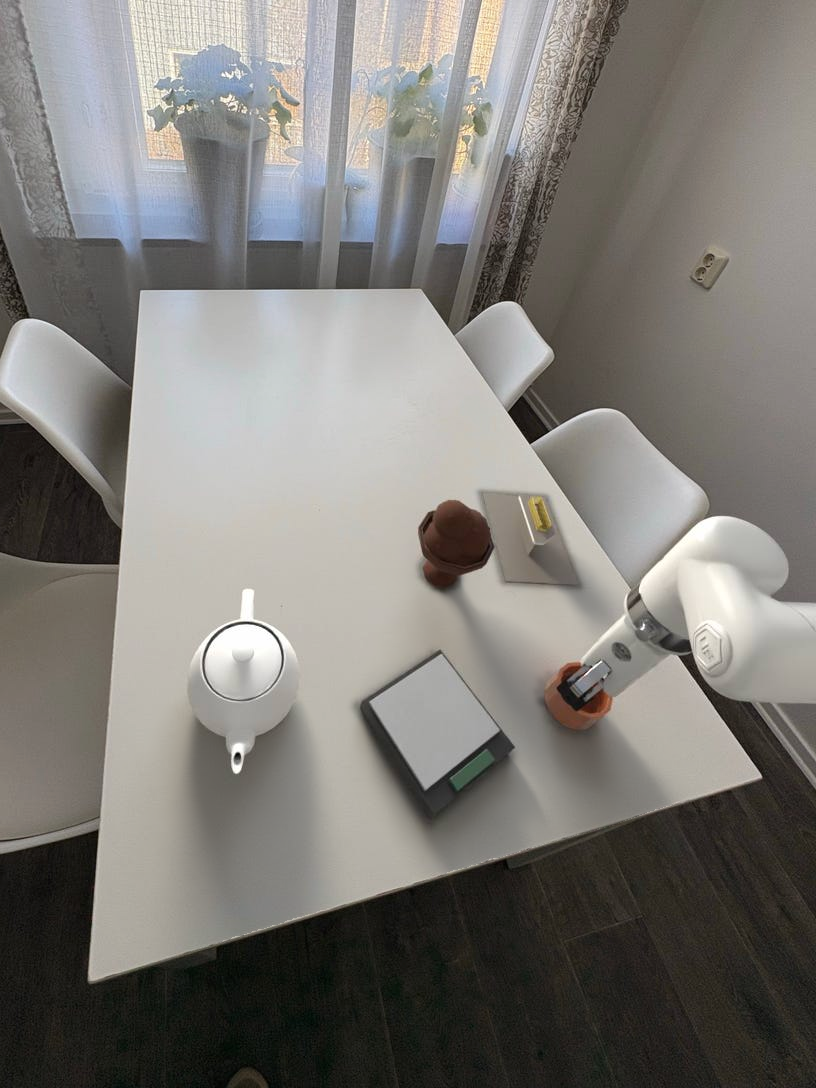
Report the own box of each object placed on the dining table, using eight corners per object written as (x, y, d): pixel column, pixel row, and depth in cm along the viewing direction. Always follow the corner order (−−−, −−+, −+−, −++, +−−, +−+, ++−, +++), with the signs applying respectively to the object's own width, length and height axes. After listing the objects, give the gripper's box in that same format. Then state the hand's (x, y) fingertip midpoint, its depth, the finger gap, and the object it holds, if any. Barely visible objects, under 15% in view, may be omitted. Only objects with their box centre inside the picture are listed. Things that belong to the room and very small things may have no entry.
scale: (508, 753, 65) (517, 745, 63) (429, 820, 60) (435, 813, 57) (435, 656, 73) (441, 646, 71) (359, 707, 67) (362, 698, 65)
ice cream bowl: (413, 605, 78) (437, 547, 68) (401, 542, 86) (421, 482, 76) (482, 604, 80) (516, 547, 69) (464, 542, 87) (492, 483, 77)
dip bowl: (605, 712, 70) (623, 698, 67) (571, 742, 67) (589, 729, 64) (565, 668, 74) (580, 652, 70) (531, 694, 71) (546, 679, 67)
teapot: (199, 613, 74) (193, 571, 67) (297, 612, 76) (301, 571, 68) (176, 797, 59) (163, 770, 51) (299, 791, 60) (305, 764, 53)
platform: (546, 497, 97) (560, 473, 92) (578, 584, 84) (597, 562, 79) (482, 493, 96) (493, 468, 91) (505, 581, 83) (519, 557, 78)
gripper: (651, 691, 47) (571, 746, 60) (747, 603, 55) (658, 668, 67) (585, 622, 51) (522, 687, 64) (682, 549, 59) (610, 620, 71)
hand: (592, 677), depth 65 cm, fingers open, 9 cm apart
